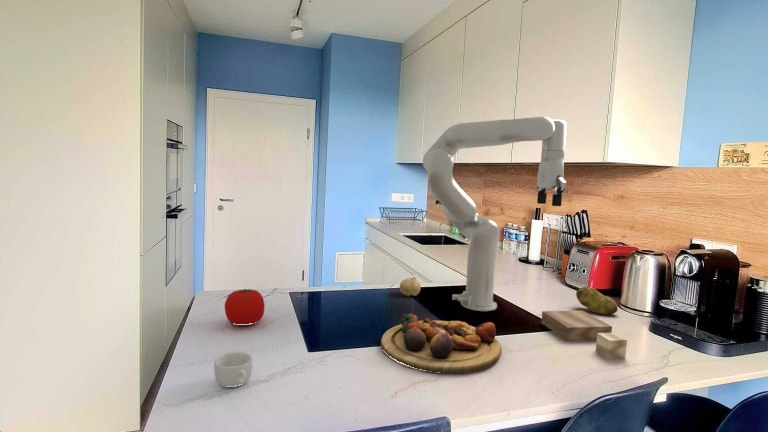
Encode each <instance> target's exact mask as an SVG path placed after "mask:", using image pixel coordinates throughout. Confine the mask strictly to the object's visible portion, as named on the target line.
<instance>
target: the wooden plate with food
mask: <svg viewBox="0 0 768 432" xmlns="http://www.w3.org/2000/svg"><path fill="white" fill-rule="evenodd" d="M402 316H403V318H402V319H401V320H400V322H399V323H400V324H398V325H396V326H395V325H394V326H393V327H391V328H389V329H387V330H386V331H385V332H384V333H383V335H382V337H381V339H380V347H382V348H381V350H382V349H383V350H384V351H385V352H386V353H387V354H388V355H389V356H391V357H392V358H394V359H396V360H397V361H399V362H402V363H404V364H406V365H409V366H411V367H414V368H417V369H422V370H426V371H432V372H431V373H433V372H440V373H439V374H443V373H459V374H468V372H469V373H473V372H477V371H481V370H484V369H487V368H489V367H491V366H493V365H494V364H496V363H497V361H498V360H499V359H500V357H501V356H502V350H503V349H502V346H501V344H500V342H499V340H498V339H497V338H496V332H497V331H496V325H495V324H494V323H493V322H490V321H489V322H488V321H486V322H482V323H481V324H479V325H478V326H472V325H469V324H468V323H467V322H465V321H460V320H450V321H448V320H447V321H446V320H433V319H430V318H428V317H424V318H423V320H419V319H418V316H417V315H415V313H412V312H411V313H408V314H403V315H402ZM383 350H382V351H383ZM384 351H383V352H384ZM426 371H425V372H426Z"/></svg>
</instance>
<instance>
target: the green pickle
mask: <svg viewBox="0 0 768 432" xmlns="http://www.w3.org/2000/svg"><path fill="white" fill-rule="evenodd" d="M575 293H576V294H575V296H576V299H577V301H578V302H579V304H580V305H582V306H583V307H585V308H586V309H588V310H589V311H591V312H592V313H596V314H598V315H614V314H615V313H617V312H618V304H617V303H616V302H615V301H613V300H612V299H610V298H609V297H608V296H606V295H604V294H603V293H601V292H600V291H598V290H596V289H595V288H593V287H590V286H589V287H588V286H583V287H581V288H578V289H577V291H575Z"/></svg>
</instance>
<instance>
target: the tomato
mask: <svg viewBox="0 0 768 432" xmlns="http://www.w3.org/2000/svg"><path fill="white" fill-rule="evenodd" d="M224 301H225V302H224V313H225V317H226V318H227V319H226V320H228V321H230V322H231V323H230V322H229V323H230V324H232V323H235V324H249V323H255V322H257V321H258V322H260V321H261V320H260V319H262V318H263V316H264V314H265V300H264V298H263V294H262V293H261V292H259V291H258V290H255V289H251V288H248V289H246V288H244V289H237V290H234V291H232V292H231V293H230V294H229V295H228V296H227V298H226V300H224ZM259 320H260V321H259ZM258 322H257V323H258ZM255 324H256V323H255Z"/></svg>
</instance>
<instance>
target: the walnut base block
mask: <svg viewBox="0 0 768 432" xmlns="http://www.w3.org/2000/svg"><path fill="white" fill-rule="evenodd" d="M541 325H543V326H544V325H545V327H546V328H547V327H548V328H547V329H549V330H550V329H551V330H550V331H551V332H553V331H554V332H553V333H555V334H556V333H557V334H558V336H559V335H560V336H561V337H560V336H559V337H560V338H562V339H563V338H564V339H563V340H565V341H566V342H578V341H580V340H581V342H582V341H583V340H586V341H597V333H613V332H612V331H613V326H612V325H610V324H608V323H606V322H604V321H603V320H601V319H599V318H597V317H595V316H593V315H591V314H590V313H588V312H586V311H584V310H542V311H541ZM557 334H556V335H557ZM583 342H584V341H583Z"/></svg>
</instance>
